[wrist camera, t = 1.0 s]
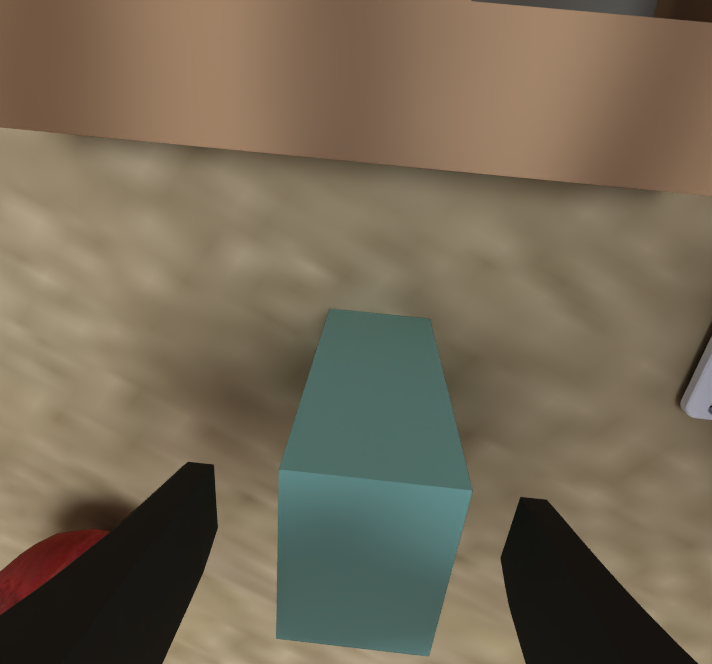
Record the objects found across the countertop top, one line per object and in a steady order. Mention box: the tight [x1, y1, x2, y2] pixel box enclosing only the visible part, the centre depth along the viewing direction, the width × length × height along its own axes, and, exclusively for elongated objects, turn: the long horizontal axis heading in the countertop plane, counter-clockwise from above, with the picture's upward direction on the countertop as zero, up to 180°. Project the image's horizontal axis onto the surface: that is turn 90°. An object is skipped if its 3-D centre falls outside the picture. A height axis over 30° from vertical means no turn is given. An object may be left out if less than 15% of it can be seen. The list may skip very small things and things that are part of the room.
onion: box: [0, 529, 110, 615], centre depth 17 cm, size 6×6×8 cm
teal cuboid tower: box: [276, 309, 473, 656], centre depth 12 cm, size 4×5×8 cm
